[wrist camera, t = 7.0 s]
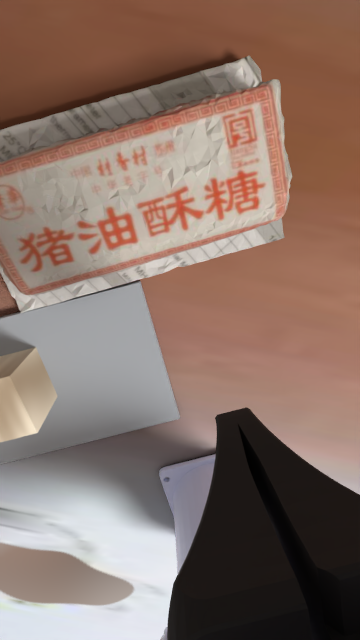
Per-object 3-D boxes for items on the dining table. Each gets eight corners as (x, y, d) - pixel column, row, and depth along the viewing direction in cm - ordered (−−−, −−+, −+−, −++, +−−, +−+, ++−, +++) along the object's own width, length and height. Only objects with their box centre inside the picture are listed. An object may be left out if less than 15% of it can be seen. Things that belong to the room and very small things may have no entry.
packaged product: (285, 11, 13) (313, 243, 16) (251, 63, 18) (279, 237, 21) (-116, 131, 13) (-9, 335, 17) (-47, 152, 18) (26, 309, 21)
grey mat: (179, 413, 24) (180, 418, 24) (-89, 482, 24) (-95, 488, 24) (140, 280, 21) (139, 282, 20) (-175, 362, 21) (-184, 366, 20)
